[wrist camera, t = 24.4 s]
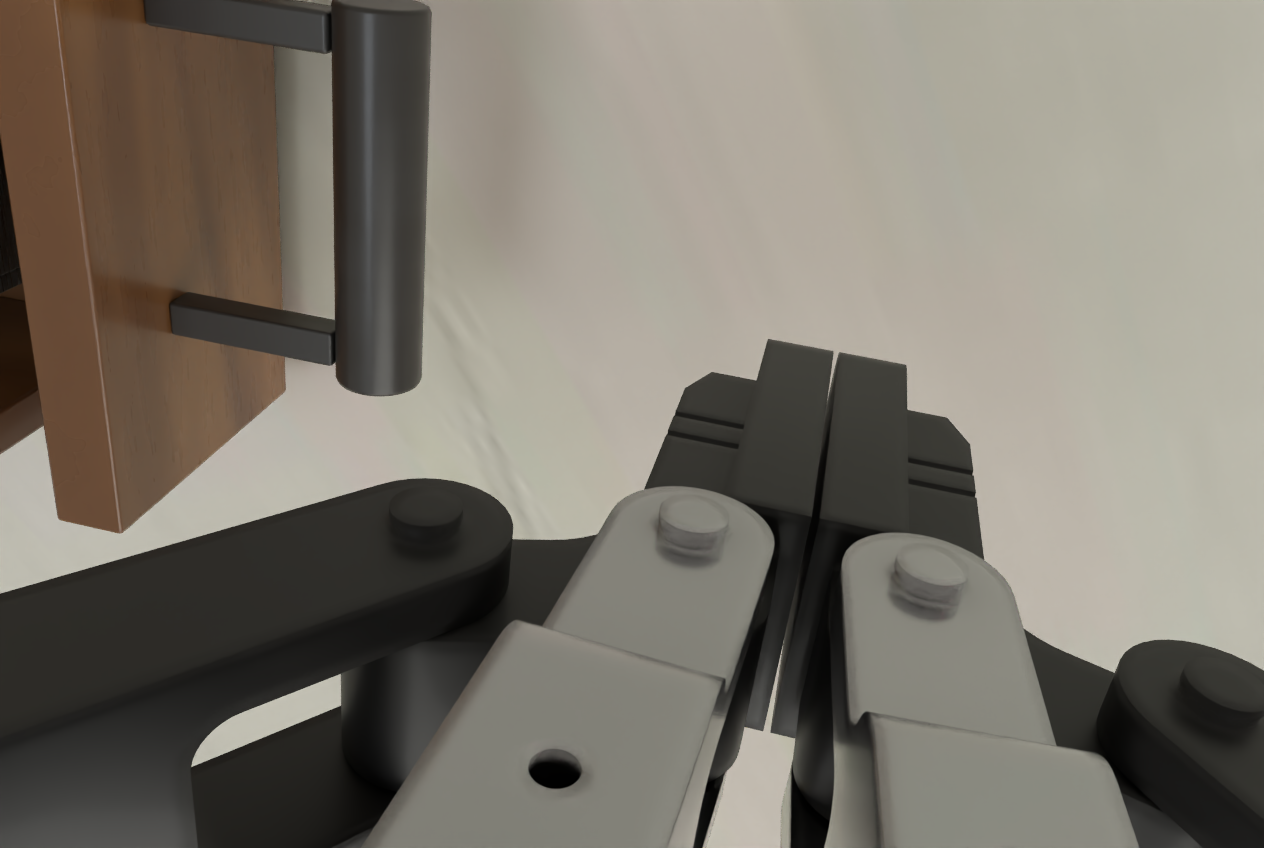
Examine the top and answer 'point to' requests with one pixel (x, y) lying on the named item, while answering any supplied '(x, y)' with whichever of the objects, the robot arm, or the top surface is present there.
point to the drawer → (194, 228)
